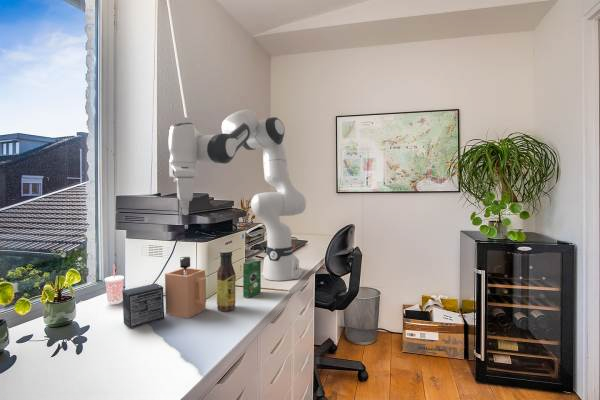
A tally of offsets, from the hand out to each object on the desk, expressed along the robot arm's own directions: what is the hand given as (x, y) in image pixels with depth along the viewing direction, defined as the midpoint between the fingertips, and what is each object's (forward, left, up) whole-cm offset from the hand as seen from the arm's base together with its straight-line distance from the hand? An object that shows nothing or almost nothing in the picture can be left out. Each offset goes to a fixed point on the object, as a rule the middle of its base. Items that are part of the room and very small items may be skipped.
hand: (184, 213), depth 111 cm
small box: (+11, -7, -33) cm, 36 cm away
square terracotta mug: (0, +2, -33) cm, 33 cm away
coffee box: (-23, +12, -33) cm, 42 cm away
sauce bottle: (-7, +11, -33) cm, 36 cm away
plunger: (0, 0, -32) cm, 32 cm away
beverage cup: (+3, -30, -33) cm, 45 cm away
